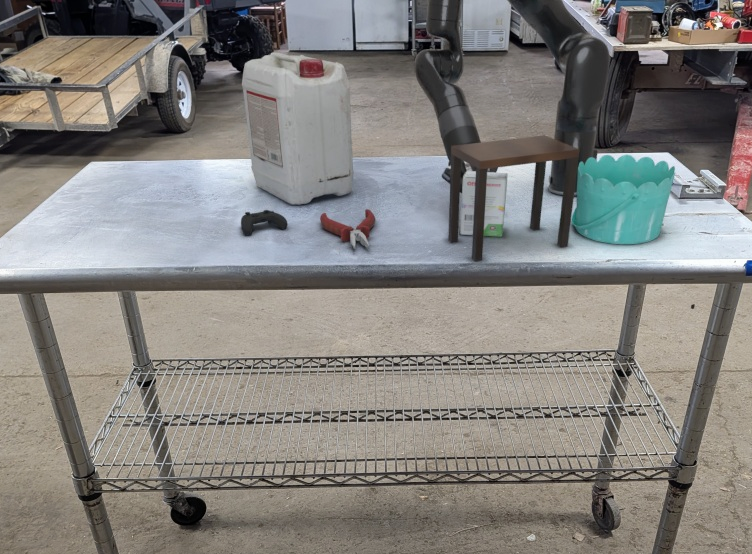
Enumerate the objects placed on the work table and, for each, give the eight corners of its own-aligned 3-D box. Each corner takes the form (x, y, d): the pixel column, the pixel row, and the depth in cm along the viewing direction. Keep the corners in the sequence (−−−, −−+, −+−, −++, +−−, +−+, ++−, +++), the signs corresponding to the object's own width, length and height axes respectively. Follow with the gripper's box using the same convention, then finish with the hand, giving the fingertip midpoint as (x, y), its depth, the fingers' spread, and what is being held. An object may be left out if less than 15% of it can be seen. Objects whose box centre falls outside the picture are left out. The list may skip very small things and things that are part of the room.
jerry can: (362, 195, 170) (357, 57, 154) (292, 210, 161) (279, 66, 145) (312, 173, 187) (303, 47, 171) (247, 186, 178) (231, 54, 162)
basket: (661, 251, 136) (674, 183, 129) (564, 241, 142) (571, 176, 135) (665, 219, 151) (676, 157, 144) (576, 211, 157) (584, 151, 150)
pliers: (332, 256, 137) (332, 243, 135) (319, 223, 153) (318, 211, 152) (391, 251, 139) (391, 238, 137) (371, 218, 155) (371, 207, 154)
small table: (535, 227, 149) (544, 135, 139) (567, 246, 139) (579, 149, 129) (448, 240, 143) (451, 145, 133) (475, 261, 134) (480, 161, 124)
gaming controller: (245, 233, 146) (236, 207, 147) (242, 245, 151) (233, 220, 152) (289, 225, 150) (280, 199, 151) (285, 237, 155) (276, 212, 156)
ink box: (459, 235, 146) (462, 176, 139) (462, 226, 150) (465, 169, 144) (502, 237, 144) (506, 178, 138) (504, 228, 148) (508, 171, 142)
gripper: (435, 126, 146) (458, 203, 143) (494, 121, 150) (517, 195, 146) (425, 147, 153) (447, 221, 150) (481, 141, 157) (503, 213, 153)
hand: (482, 208), depth 148 cm, fingers closed
